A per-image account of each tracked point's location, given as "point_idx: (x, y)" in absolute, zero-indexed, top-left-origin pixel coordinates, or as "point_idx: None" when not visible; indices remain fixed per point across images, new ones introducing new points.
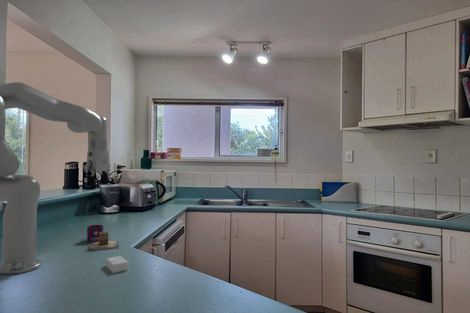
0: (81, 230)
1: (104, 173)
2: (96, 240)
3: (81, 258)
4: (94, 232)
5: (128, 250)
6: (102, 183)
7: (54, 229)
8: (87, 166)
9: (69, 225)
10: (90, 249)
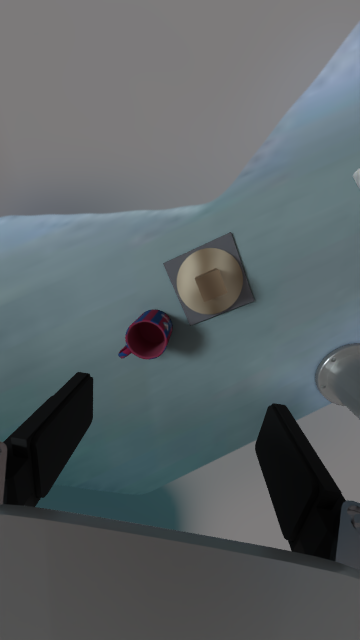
0: None
1: (14, 491)
2: (168, 318)
3: (299, 290)
4: (167, 329)
5: (238, 202)
6: (89, 410)
7: None
8: None
9: None
10: (237, 300)
